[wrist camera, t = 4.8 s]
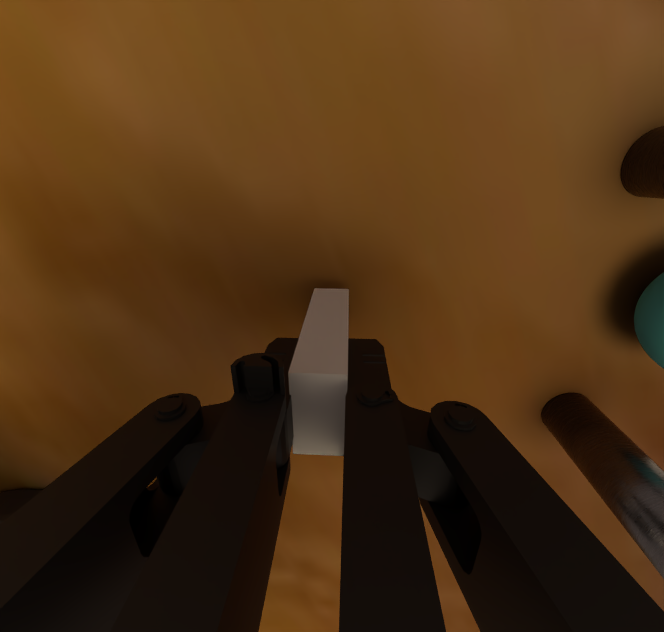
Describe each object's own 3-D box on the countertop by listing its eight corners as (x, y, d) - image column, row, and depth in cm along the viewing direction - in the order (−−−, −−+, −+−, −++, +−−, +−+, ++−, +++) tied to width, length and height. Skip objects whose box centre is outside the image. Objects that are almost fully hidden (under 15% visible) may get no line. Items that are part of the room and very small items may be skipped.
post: (536, 429, 19) (680, 629, 11) (548, 392, 18) (718, 581, 10) (583, 431, 19) (765, 634, 11) (598, 393, 18) (813, 586, 9)
